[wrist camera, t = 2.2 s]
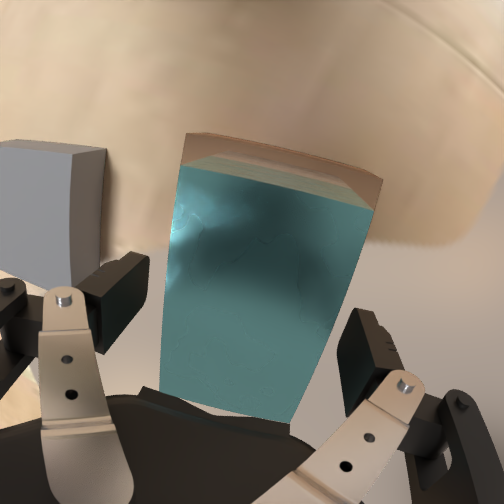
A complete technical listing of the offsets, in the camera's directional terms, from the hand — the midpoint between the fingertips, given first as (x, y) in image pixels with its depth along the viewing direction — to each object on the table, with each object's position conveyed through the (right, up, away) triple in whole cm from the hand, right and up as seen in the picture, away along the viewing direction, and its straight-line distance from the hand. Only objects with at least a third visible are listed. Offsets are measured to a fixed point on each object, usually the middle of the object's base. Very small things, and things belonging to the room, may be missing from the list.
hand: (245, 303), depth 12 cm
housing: (+1, +2, +5) cm, 5 cm away
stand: (-16, +6, +10) cm, 19 cm away
